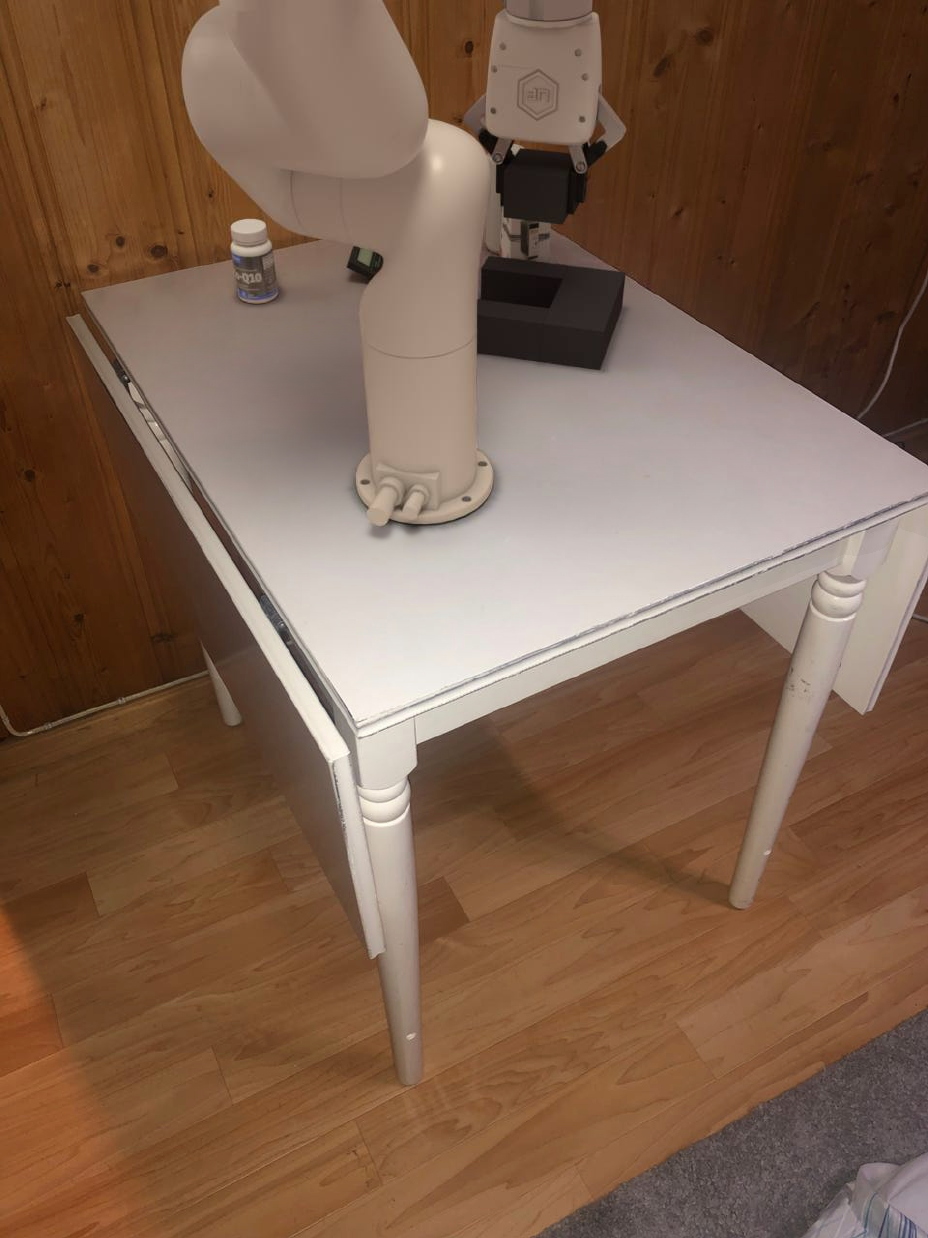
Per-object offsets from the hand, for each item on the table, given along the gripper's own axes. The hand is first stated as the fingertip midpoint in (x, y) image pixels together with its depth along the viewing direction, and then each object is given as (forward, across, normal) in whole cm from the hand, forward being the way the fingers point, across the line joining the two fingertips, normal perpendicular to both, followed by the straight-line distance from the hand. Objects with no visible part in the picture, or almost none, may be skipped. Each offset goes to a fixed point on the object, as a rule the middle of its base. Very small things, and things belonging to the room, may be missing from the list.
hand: (540, 202), depth 100 cm
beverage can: (+16, -10, +23) cm, 30 cm away
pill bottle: (+16, -34, +2) cm, 38 cm away
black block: (+1, 0, 0) cm, 1 cm away
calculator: (+16, -20, +14) cm, 30 cm away
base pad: (+16, 0, +4) cm, 16 cm away
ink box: (+16, -6, +16) cm, 23 cm away
